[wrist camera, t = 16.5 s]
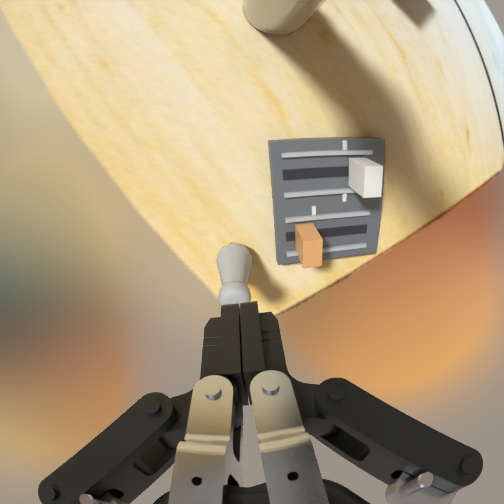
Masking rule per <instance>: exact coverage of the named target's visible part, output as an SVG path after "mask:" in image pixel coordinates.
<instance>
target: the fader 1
mask: <svg viewBox="0 0 504 504" xmlns="http://www.w3.org/2000/svg"><path fill="white" fill-rule="evenodd" d="M295 243H296V252H297V254H298V257H299V259H300V262H301V264H302V267H303V268H310V267H318V266H322V246H323V239H322V237H321V235H320V234H319V232H318V231H317V229H316V227H315V226H314V224H313V223H304V224H295Z"/></svg>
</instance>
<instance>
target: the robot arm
mask: <svg viewBox="0 0 504 504" xmlns="http://www.w3.org/2000/svg"><path fill="white" fill-rule="evenodd" d="M325 1H326V0H244V3H243V12H244V15H245V18H246V19H247V21H248V22H249V23H250V24H251V25H252V26H253V27H255V28H256V29H258V30H260V31H262V32H265V33H268V34H275V35H282V34H288V33H291V32H293V31H295V30H297V29H298V28H300V27H301V26H302V25H303V24H304V23H305V22H306V21H307V20H308V19H309V17H310V16H311V15H312V14H313V13H314V12H315V11H316V10H317V9H318V8H319V7H320V6H321V5H322V4H323V3H324V2H325ZM203 341H204V342H203V351H202V363H201V376H200V380H199V381H198V382H197V383H196V385H195V387H194V389H192V390H191V391H189V392H188V393H186V394H182V395H179V396H176V397H172V398H169V397H168V396H166V395H165V394H162V393H157V392H154V393H149V394H146V395H145V396H143V397H142V398H141V399H139V400H138V401H137V402H136V403H135V404H134V405H133V406H131V407H130V408H129V409H128V410H127V411H126V412H125V413H123V414H122V415H121V416H120V417H119V418H118V419H117V420H115V421H114V422H113V423H112V424H111V425H110V426H108V427H107V428H106V429H105V430H104V431H103V432H101V433H100V434H99V435H98V436H97V437H95V438H94V439H93V440H92V441H91V442H89V443H88V444H87V445H86V446H85V447H83V448H82V449H81V450H80V451H79V452H77V453H76V454H75V455H74V456H73V457H71V458H70V459H69V460H68V461H67V462H65V463H64V464H63V465H61V466H60V467H59V468H58V469H56V470H55V471H54V472H53V473H51V474H50V475H49V476H48V477H46V478H45V479H44V480H43V481H41V483H40V485H39V488H38V495H39V498H40V501H41V502H42V504H130V503H131V502H132V501H133V500H134V499H135V498H136V497H138V496H139V495H140V494H141V493H142V492H143V491H145V490H146V489H147V488H148V487H149V486H150V485H151V484H152V483H153V482H155V481H156V480H157V479H158V478H159V477H160V476H161V475H162V474H163V473H164V472H165V471H166V470H167V469H168V468H170V467H171V465H173V464H174V468H173V474H172V482H171V488H170V491H169V492H167V493H165V494H164V495H162V496H161V497H159V498H158V499H157V500H156V501H155V502H154V503H153V504H370V503H369V502H367V501H365V500H364V499H362V498H361V497H359V496H358V495H356V494H355V493H353V492H352V491H350V490H349V489H348V488H346V487H344V486H342V485H341V484H339V483H336V482H333V481H330V480H326V479H322V477H321V473H320V470H319V466H318V463H317V459H316V456H315V453H314V449H313V446H312V442H311V439H310V437H309V435H313V437H315V438H316V439H317V440H319V441H320V442H321V443H323V444H324V445H326V446H327V447H329V448H330V449H332V450H333V451H335V452H336V453H337V454H339V455H340V456H342V457H344V458H345V459H347V460H348V461H350V462H351V463H353V464H354V465H356V466H357V467H359V468H361V469H362V470H364V471H366V472H367V473H369V474H371V475H372V476H374V477H376V478H377V479H379V480H381V481H382V482H384V483H386V484H388V487H387V489H386V493H385V497H386V500H387V502H388V503H389V504H450V503H451V501H452V499H453V498H454V496H455V494H456V493H457V491H458V490H459V489H462V488H464V487H466V486H468V485H470V484H471V483H473V482H474V481H475V480H476V479H477V478H478V477H479V475H480V474H481V471H482V468H483V459H482V456H481V454H480V453H479V452H478V451H477V450H475V449H473V448H471V447H469V446H467V445H464V444H462V443H460V442H458V441H456V440H454V439H452V438H450V437H448V436H446V435H444V434H442V433H440V432H438V431H436V430H434V429H432V428H430V427H429V426H427V425H425V424H423V423H421V422H419V421H417V420H415V419H414V418H412V417H410V416H408V415H406V414H404V413H403V412H401V411H399V410H397V409H395V408H393V407H392V406H390V405H388V404H387V403H384V402H383V401H381V400H380V399H378V398H376V397H375V396H373V395H371V394H369V393H368V392H366V391H364V390H363V389H361V388H359V387H358V386H356V385H354V384H353V383H351V382H349V381H348V380H346V379H343V378H330V379H328V380H325V381H323V382H322V383H321V384H320V385H316V384H307V383H302V382H299V381H297V380H295V379H294V378H293V377H292V376H291V375H290V374H289V372H288V371H287V367H286V361H285V356H284V351H283V345H282V340H281V335H280V329H279V324H278V320H277V318H276V317H275V316H274V315H273V314H272V312H265V313H258V305H257V301H254V302H245V303H240V307H239V303H236V304H226V305H221V317H218V318H210V320H209V321H208V323H207V324H206V326H205V329H204V340H203ZM248 397H249V401H250V405H253V411H254V416H255V422H256V427H257V433H258V440H259V447H260V453H261V458H262V464H263V469H264V474H265V480H266V483H263V484H260V485H256V486H253V487H249V488H245V487H243V470H242V437H243V406H242V405H248Z"/></svg>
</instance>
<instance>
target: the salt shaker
mask: <svg viewBox="0 0 504 504" xmlns="http://www.w3.org/2000/svg"><path fill="white" fill-rule="evenodd" d="M216 262H217V266H218V269H219V273H220V277H221V282H222V287H221V288H220V291H219V297H218V298H219V302H220V305H226V304H236V303H239V307H240V303H245V302H250V300H251V294H250V290H249V288H248V287H247V284H248V280H249V275H250V271H251V267H252V262H253V259H252V255H251V253H250V251H249V250H248V249H247V248H246V247H245V246H244V245H242V244H238V243H232V242H231V243H230V244H228V245H226V246H224V247H223V248H222V249H221V250H220V251H219V252H218V255H217V260H216Z"/></svg>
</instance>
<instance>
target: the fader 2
mask: <svg viewBox="0 0 504 504" xmlns="http://www.w3.org/2000/svg"><path fill="white" fill-rule="evenodd" d="M382 176H383V166H382V165H380V164H378V163H376V162H374V161H372V160H370V159H367V158H349V187H351V188H352V189H353V190H354V191H356V192H357V193H358V194H359V195H361V196H362V197H363V198H371V197H381V192H382Z"/></svg>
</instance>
